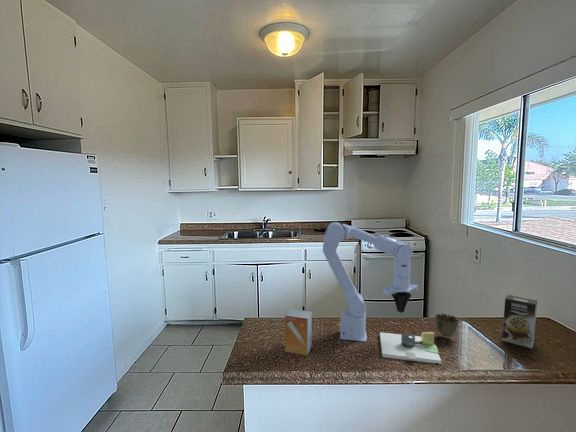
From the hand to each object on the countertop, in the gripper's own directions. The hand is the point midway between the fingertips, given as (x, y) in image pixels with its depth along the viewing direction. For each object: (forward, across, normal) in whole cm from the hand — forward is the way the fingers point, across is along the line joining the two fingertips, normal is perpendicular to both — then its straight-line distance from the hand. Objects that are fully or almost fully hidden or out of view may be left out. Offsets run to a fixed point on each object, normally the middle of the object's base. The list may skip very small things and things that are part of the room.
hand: (400, 311), depth 116 cm
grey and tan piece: (+9, +1, -8) cm, 12 cm away
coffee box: (+11, +39, -18) cm, 44 cm away
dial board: (+10, -2, -7) cm, 13 cm away
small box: (+11, -38, +6) cm, 40 cm away
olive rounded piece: (+11, +17, -6) cm, 21 cm away
